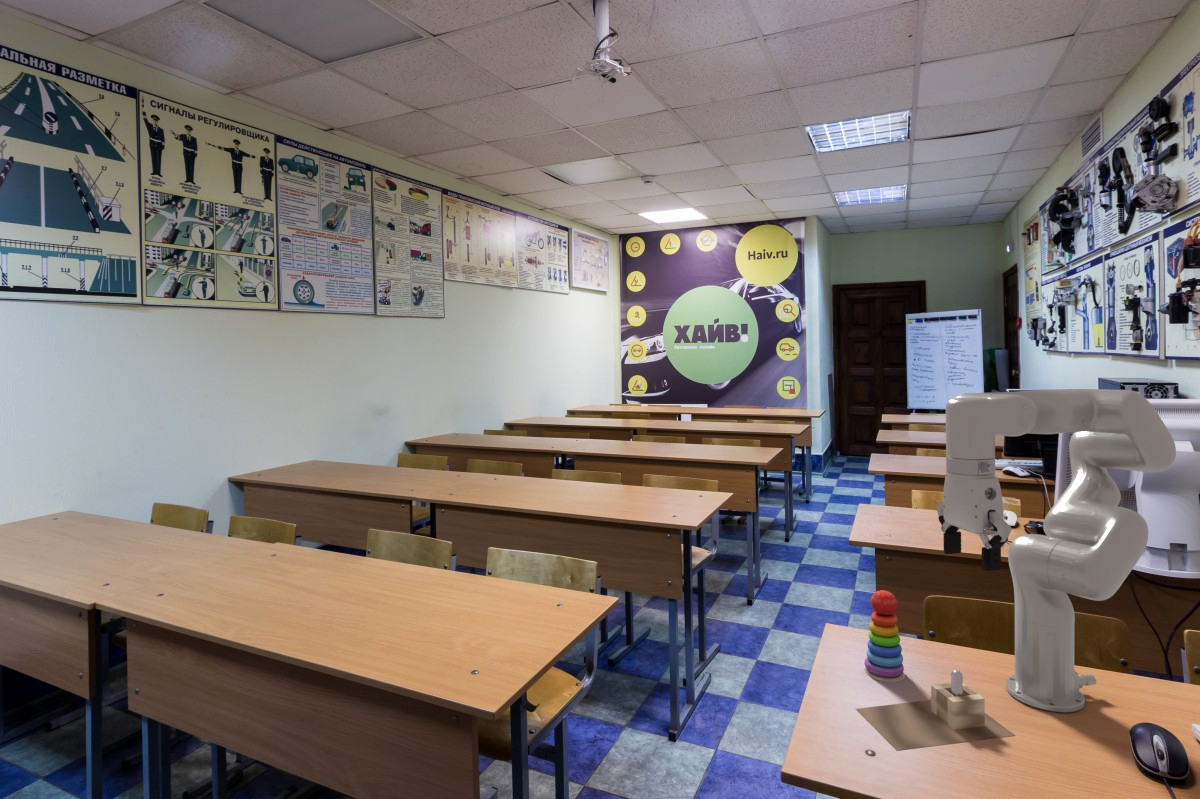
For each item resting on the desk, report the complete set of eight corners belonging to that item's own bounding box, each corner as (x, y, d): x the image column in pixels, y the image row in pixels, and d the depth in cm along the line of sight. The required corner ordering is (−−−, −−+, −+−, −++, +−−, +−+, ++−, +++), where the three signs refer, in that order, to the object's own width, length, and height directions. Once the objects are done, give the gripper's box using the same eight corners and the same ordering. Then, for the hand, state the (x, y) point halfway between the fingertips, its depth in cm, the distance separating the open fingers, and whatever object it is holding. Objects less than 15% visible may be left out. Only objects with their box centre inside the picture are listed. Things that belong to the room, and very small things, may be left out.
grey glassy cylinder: (958, 715, 115) (957, 667, 114) (965, 720, 113) (964, 672, 112) (949, 716, 114) (948, 668, 114) (956, 721, 113) (955, 673, 112)
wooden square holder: (961, 707, 117) (960, 681, 117) (984, 725, 111) (984, 698, 111) (931, 711, 116) (931, 685, 116) (953, 729, 110) (953, 702, 110)
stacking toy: (910, 690, 126) (909, 599, 125) (868, 687, 128) (866, 598, 127) (900, 671, 134) (898, 585, 133) (860, 669, 136) (858, 584, 135)
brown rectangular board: (962, 703, 121) (962, 696, 121) (1015, 743, 108) (1015, 735, 108) (855, 716, 118) (855, 708, 118) (896, 759, 105) (896, 750, 105)
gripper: (1028, 473, 103) (1028, 575, 104) (956, 458, 120) (957, 546, 121) (987, 476, 102) (987, 579, 103) (920, 460, 120) (921, 549, 120)
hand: (971, 561), depth 112 cm, fingers open, 9 cm apart
